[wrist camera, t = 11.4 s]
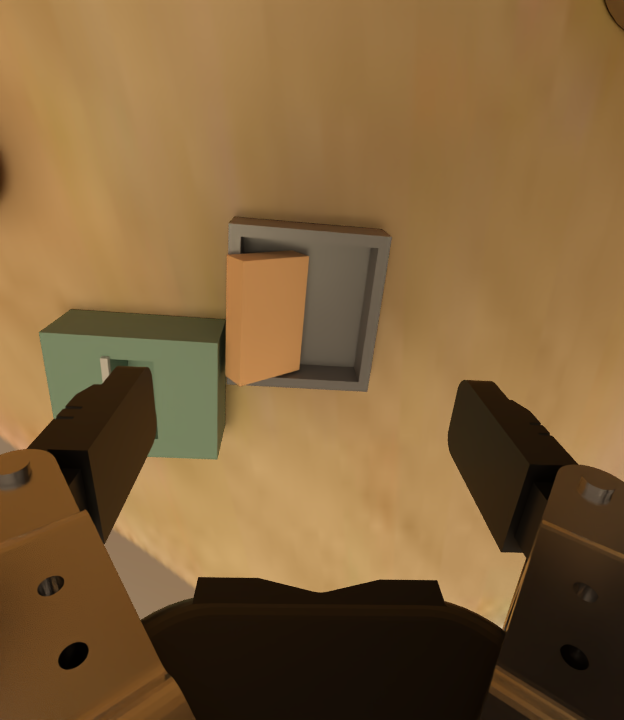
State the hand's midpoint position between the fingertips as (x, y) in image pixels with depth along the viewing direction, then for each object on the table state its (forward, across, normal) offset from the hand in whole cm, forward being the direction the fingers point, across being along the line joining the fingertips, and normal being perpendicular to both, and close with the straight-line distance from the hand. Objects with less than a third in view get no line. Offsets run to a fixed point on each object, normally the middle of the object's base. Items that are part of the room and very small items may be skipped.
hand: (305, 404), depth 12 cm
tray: (+24, 0, +5) cm, 25 cm away
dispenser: (+24, +12, +11) cm, 29 cm away
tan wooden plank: (+21, +2, +10) cm, 23 cm away
